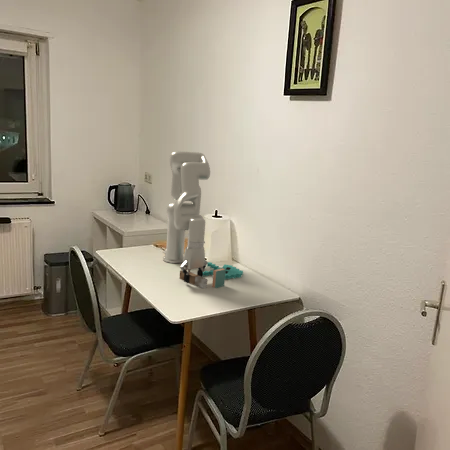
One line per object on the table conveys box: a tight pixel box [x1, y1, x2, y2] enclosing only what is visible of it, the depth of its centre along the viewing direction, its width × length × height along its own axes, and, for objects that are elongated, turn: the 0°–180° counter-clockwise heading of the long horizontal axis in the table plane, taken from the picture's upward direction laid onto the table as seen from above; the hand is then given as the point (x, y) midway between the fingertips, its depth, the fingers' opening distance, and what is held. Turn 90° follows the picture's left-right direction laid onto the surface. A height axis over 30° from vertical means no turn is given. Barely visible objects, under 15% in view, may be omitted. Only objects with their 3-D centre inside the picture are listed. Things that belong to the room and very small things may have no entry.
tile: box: [211, 267, 226, 289], centre depth 212 cm, size 2×6×8 cm, turn 136°
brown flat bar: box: [179, 269, 208, 289], centre depth 214 cm, size 16×3×4 cm, turn 46°
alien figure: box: [203, 261, 244, 280], centre depth 233 cm, size 20×2×20 cm
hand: (193, 280), depth 214 cm, fingers open, 7 cm apart
